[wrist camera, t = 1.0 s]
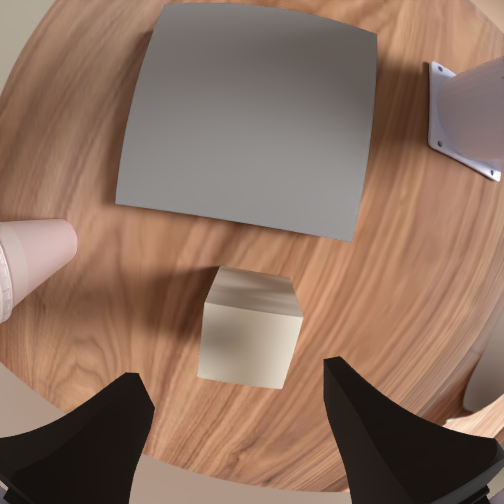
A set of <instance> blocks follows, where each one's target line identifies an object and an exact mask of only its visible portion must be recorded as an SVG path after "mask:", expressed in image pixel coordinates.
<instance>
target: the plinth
mask: <svg viewBox="0 0 504 504" xmlns="http://www.w3.org/2000/svg"><path fill="white" fill-rule="evenodd" d="M376 69H377V34H374V33H372V32H369V31H366V30H363V29H360V28H357V27H354V26H351V25H348V24H345V23H342V22H338V21H335V20H331V19H327V18H324V17H320V16H316V15H311V14H307V13H302V12H297V11H292V10H286V9H280V8H273V7H266V6H257V5H247V4H232V3H183V4H169V5H164V6H163V9H162V11H161V14H160V16H159V18H158V21H157V23H156V26H155V29H154V31H153V34H152V37H151V39H150V42H149V45H148V48H147V51H146V54H145V57H144V60H143V63H142V67H141V70H140V73H139V77H138V80H137V84H136V88H135V91H134V95H133V99H132V103H131V108H130V112H129V117H128V121H127V126H126V131H125V136H124V142H123V147H122V153H121V160H120V166H119V174H118V182H117V190H116V200H115V204H121V205H128V206H136V207H143V208H150V209H158V210H165V211H172V212H178V213H185V214H192V215H198V216H205V217H211V218H217V219H224V220H230V221H236V222H242V223H248V224H254V225H260V226H265V227H271V228H277V229H283V230H288V231H294V232H299V233H305V234H310V235H315V236H321V237H326V238H331V239H336V240H342V241H347V242H352V239H353V235H354V231H355V226H356V221H357V217H358V212H359V207H360V202H361V196H362V191H363V185H364V179H365V173H366V167H367V161H368V154H369V147H370V139H371V131H372V122H373V112H374V101H375V87H376Z"/></svg>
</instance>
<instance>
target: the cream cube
mask: <svg viewBox="0 0 504 504" xmlns="http://www.w3.org/2000/svg"><path fill="white" fill-rule="evenodd" d="M302 321H303V315H302V312H301V309H300V306H299V303H298V300H297V297H296V294H295V292H294V289H293V286H292V283H291V280H290V277H284V276H278V275H272V274H265V273H259V272H253V271H247V270H241V269H235V268H229V267H223V266H220V267H219V270H218V272H217V274H216V277H215V279H214V281H213V284H212V286H211V289H210V291H209V293H208V296H207V298H206V300H205V304H204V313H203V322H202V332H201V342H200V353H199V365H198V377H200V378H205V379H210V380H216V381H222V382H228V383H235V384H242V385H249V386H257V387H266V388H275V389H282V387H283V384H284V381H285V378H286V375H287V372H288V368H289V365H290V362H291V359H292V355H293V352H294V349H295V345H296V342H297V339H298V335H299V332H300V328H301V324H302Z"/></svg>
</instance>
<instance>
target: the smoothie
mask: <svg viewBox="0 0 504 504" xmlns="http://www.w3.org/2000/svg"><path fill="white" fill-rule="evenodd" d="M76 252H77V236H76V233H75V230H74V228H73V227H72V225H71V224H70V223H69V222H68V221H66V220H64V219H42V220H24V221H8V222H0V323H2V322H3V321H6V320H7V319H8V318H9V317H10V315H11V312H12V308H14V307H15V306H16V305H17V304H18V303H19V302H21V301H22V300H23V299H24V298H25V297H26V296H27V295H28V294H30V293H31V292H32V291H33V290H34V289H36V288H37V287H38V286H39V285H40V284H42V283H43V282H44V281H45V280H47V279H48V278H49V277H50V276H52V275H53V274H54V273H55V272H57V271H58V270H59V269H61V268H62V267H63V266H64V265H66V264H67V263H68V262H70V261H71V260H72V259H73V258H74V257H75V255H76Z"/></svg>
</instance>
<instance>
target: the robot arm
mask: <svg viewBox="0 0 504 504" xmlns="http://www.w3.org/2000/svg"><path fill="white" fill-rule="evenodd" d="M438 68H439V69H438ZM439 70H440V71H439ZM429 75H430V114H429V133H428V143H429V145H430V147H432V148H434V149H436V150H438V151H440V152H442V153H444V154H446V155H448V156H450V157H452V158H454V159H456V160H458V161H460V162H462V163H464V164H466V165H468V166H469V167H471V168H473V169H475V170H477V171H478V172H480V173H482V174H484V175H485V176H487V177H489V178H490V179H492V180H494V181H496V182H498V181H499V180H500V174H501V172H504V56H502V57H499V58H496V59H494V60H491V61H489V62H486V63H484V64H481V65H479V66H476V67H474V68H472V69H469V70H467V71H465V72H462V73H460V74H458V75H456V74H455V73H453V72H451V71H450V70H448V69H447V68H445V67H443V66H441V65H440V64H438V63H436V62H434V61H432V62H430V63H429ZM438 142H439V144H440V146H438ZM490 171H491V172H490ZM323 397H324V402H325V407H326V411H327V416H328V420H329V423H330V426H331V429H332V432H333V434H334V437H335V440H336V443H337V446H338V449H339V451H340V454H341V457H342V460H343V463H344V466H345V470H346V474H347V479H348V484H349V489H350V494H351V499H352V504H504V488H503V489H502V490H501V491H500V492H498V493H497V494H496V495H495V496H493V497H492V498H491V499H490V500H488V498H487V496H486V495H487V494H488V493H489V491H490V490H489V488H488V486H487V484H488V483H489V482H490V481H491V480H492V479H493V478H494V476H496V475H497V474H498V472H499V471H500V470H501V469H502V468H503V467H504V450H503V449H502V447H501V446H500V444H499V443H498V442H497V441H496V439H493V438H486V437H480V436H474V435H469V434H464V433H461V432H457V431H454V430H450V429H447V428H444V427H442V426H439V425H437V424H434V423H432V422H429V421H427V420H425V419H422V418H420V417H418V416H416V415H414V414H413V413H411V412H409V411H407V410H406V409H404V408H402V407H401V406H399V405H398V404H396V403H395V402H393V401H392V400H390V399H389V398H387V397H386V396H385V395H383V394H382V393H381V392H379V391H378V390H377V389H376V388H374V387H373V386H372V385H371V384H370V383H368V382H367V381H366V380H365V379H364V378H363V377H361V376H360V375H359V374H358V373H357V372H356V371H355V370H354V369H353V368H352V367H351V366H350V365H349V364H348V363H347V362H346V361H345V360H344V359H343V358H342V357H340V356H338V357H333V358H328V359H324V396H323ZM154 410H155V407H154V405H153V403H152V401H151V399H150V397H149V395H148V393H147V391H146V389H145V387H144V384H143V382H142V380H141V378H140V376H139V373H125V374H123V375H121V376H120V377H119V378H117V379H116V380H114V381H113V382H112V383H110V384H109V385H108V386H106V387H105V388H104V389H103V390H101V391H100V392H99V393H97V394H96V395H95V396H93V397H92V398H91V399H89V400H88V401H86V402H85V403H83V404H82V405H80V406H79V407H78V408H76V409H75V410H73V411H72V412H70V413H68V414H67V415H65V416H63V417H61V418H60V419H58V420H56V421H54V422H52V423H50V424H47V425H45V426H43V427H40V428H38V429H35V430H33V431H30V432H26V433H23V434H19V435H15V436H11V437H4V438H0V480H1V481H2V482H3V483H4V484H5V485H6V486H7V487H8V490H7V491H6V490H4V489H3V488H2V487H1V486H0V504H129V498H130V491H131V486H132V481H133V476H134V473H135V470H136V466H137V464H138V461H139V458H140V456H141V453H142V450H143V448H144V445H145V442H146V440H147V437H148V434H149V431H150V428H151V424H152V420H153V415H154Z"/></svg>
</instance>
